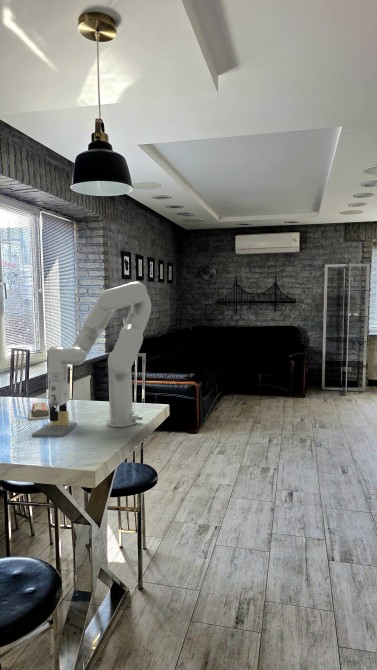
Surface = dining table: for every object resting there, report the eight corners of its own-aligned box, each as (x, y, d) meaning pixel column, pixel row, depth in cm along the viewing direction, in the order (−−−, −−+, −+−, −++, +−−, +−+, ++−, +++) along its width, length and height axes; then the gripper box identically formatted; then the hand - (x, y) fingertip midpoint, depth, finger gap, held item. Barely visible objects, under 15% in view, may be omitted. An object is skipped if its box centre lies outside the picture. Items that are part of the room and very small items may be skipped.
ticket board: (71, 429, 177) (71, 426, 177) (62, 437, 167) (62, 433, 167) (42, 429, 178) (42, 426, 178) (32, 437, 168) (32, 433, 168)
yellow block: (77, 425, 184) (76, 410, 183) (72, 429, 178) (71, 414, 177) (49, 424, 185) (48, 410, 184) (43, 428, 179) (42, 413, 178)
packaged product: (28, 402, 210) (50, 401, 213) (28, 412, 210) (50, 411, 213) (28, 411, 193) (51, 408, 196) (28, 421, 193) (52, 419, 196)
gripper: (59, 380, 171) (59, 423, 172) (74, 373, 188) (74, 413, 189) (40, 379, 172) (40, 423, 173) (57, 373, 189) (57, 412, 190)
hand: (58, 417), depth 181 cm, fingers open, 9 cm apart
